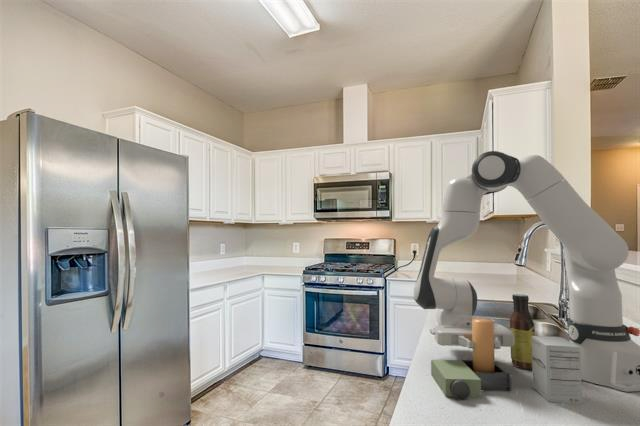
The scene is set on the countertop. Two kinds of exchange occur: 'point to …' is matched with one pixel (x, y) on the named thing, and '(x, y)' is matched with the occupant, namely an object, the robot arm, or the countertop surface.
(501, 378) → the frame
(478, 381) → the green rectangular block
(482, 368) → the orange cylinder
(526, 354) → the sauce bottle
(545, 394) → the supplement box
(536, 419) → the countertop surface
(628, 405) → the countertop surface
